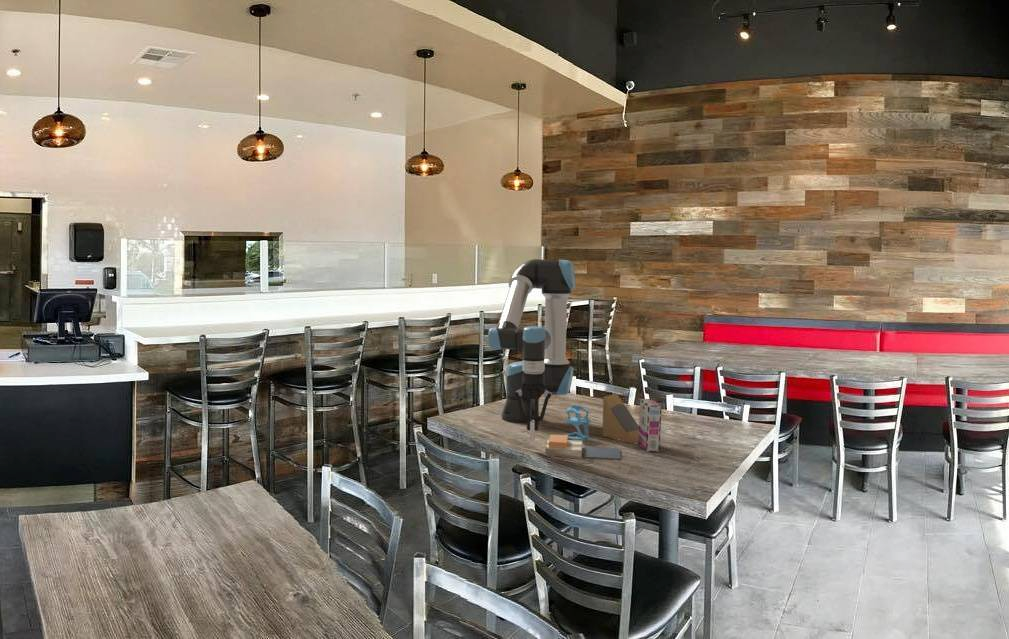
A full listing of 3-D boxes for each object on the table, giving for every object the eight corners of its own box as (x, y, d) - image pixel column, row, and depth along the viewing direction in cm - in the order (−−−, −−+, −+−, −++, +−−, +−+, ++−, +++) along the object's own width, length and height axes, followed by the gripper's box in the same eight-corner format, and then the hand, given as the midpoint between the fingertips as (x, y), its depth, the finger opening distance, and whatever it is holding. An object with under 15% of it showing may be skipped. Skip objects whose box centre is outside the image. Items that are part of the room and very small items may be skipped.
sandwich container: (635, 444, 247) (637, 403, 245) (601, 435, 258) (602, 396, 256) (649, 440, 253) (651, 400, 251) (615, 431, 264) (617, 393, 262)
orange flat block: (550, 440, 242) (550, 434, 242) (567, 441, 241) (567, 435, 241) (548, 447, 233) (548, 441, 233) (566, 448, 233) (566, 442, 232)
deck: (547, 445, 244) (548, 438, 244) (582, 447, 242) (582, 440, 242) (545, 456, 232) (545, 448, 232) (581, 457, 231) (581, 450, 230)
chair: (580, 443, 248) (580, 410, 247) (561, 438, 254) (562, 406, 252) (592, 438, 254) (593, 406, 252) (574, 434, 259) (575, 403, 258)
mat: (585, 447, 242) (585, 446, 242) (619, 449, 241) (619, 447, 241) (584, 458, 231) (584, 456, 230) (620, 459, 229) (620, 458, 229)
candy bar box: (660, 452, 238) (662, 405, 236) (646, 452, 237) (648, 405, 236) (651, 443, 249) (652, 398, 247) (637, 443, 248) (639, 398, 247)
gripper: (513, 373, 233) (512, 441, 236) (551, 374, 231) (550, 443, 234) (515, 369, 240) (514, 435, 243) (553, 370, 239) (552, 437, 241)
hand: (532, 439), depth 238 cm, fingers closed
